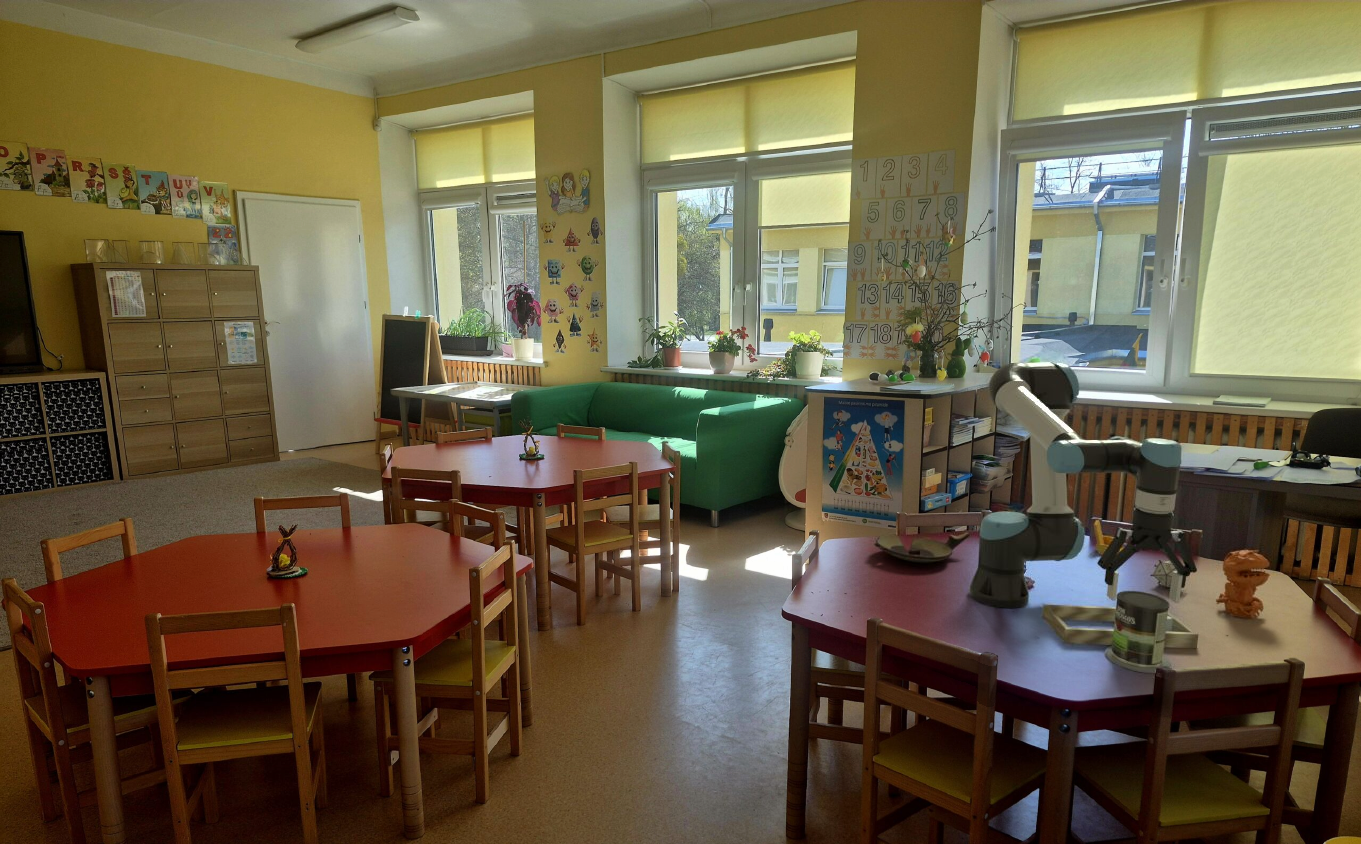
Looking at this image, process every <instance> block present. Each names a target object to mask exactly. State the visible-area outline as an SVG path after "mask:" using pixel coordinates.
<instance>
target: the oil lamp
mask: <svg viewBox="0 0 1361 844" xmlns="http://www.w3.org/2000/svg"><path fill="white" fill-rule="evenodd" d="M970 535H971V534H970V532H963V533H962V534H960V535H953V534H949V535H948V539H947V541H946V542H943V541H939V540H937V539H934V538H932V537H927V536H923V535H921V536H919V537H913V539H912V541H911V542H912V543H911V545H910V548H909V551H908V550H907V548H906V547H905V546H904V544H903V543H902V541H901V539H900V538H899V536H898V534H896V533H893V534H892V533H888V534H882V535H880V536H878V537H877V538H876V542H875V543H874V546H875V547H877V548H879V550H881V551H883V552H885V553H888V554H889V555H891V556H893V557H895V558H897V559H900V560H904V561H906V562H912V563H919V564H926V563H927V564H928V563H934V562H939V561H942V560H945V559H948V558H950V557H951V556H952V554H953V551H954V549H955V548H956V547H958V546H959V545H961V544H962V543H963V542H964V541H966V540H967V539H968V538H969V537H970ZM913 554H919V555H913Z"/></svg>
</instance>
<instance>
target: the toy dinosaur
mask: <svg viewBox="0 0 1361 844" xmlns="http://www.w3.org/2000/svg"><path fill="white" fill-rule="evenodd" d="M1259 551H1260V550H1258V549H1255V550H1249V549H1242V550H1236V551H1230V552H1228V553H1227V554H1226V556H1224V559H1223V562H1222V563H1223V564H1222V571H1223V572H1224V574H1223V575H1224V576H1225V577H1226V580H1227V581H1228V582H1226V583H1225V585H1224V592H1223V593H1220V594H1219V596H1218V599H1215V602H1216V605H1218V604H1222V603H1224V609H1225V612H1226V613H1227V614H1229V615H1230V616H1234V617H1238V618H1243V619H1245V618H1246V619H1247V618H1249V619H1250V618H1252V619H1253V618H1254V617H1255V615H1257V616H1258V617H1260V615H1261V613H1260V612H1262V613H1263V611H1264V605H1263V604H1264V603H1263V601H1262V600H1261V599H1260V598H1258V597H1256V596H1254V595H1255V594H1256V591H1257V588H1258V587H1260V586H1262V585H1264V584H1265V583H1267V581H1268V579H1269V577H1270V575H1271V574H1270V573H1268V572H1266V571H1265V568H1269V567H1270V561H1269V560H1268V559H1267V558H1266V557H1264V555H1262V554H1259V553H1258V552H1259ZM1263 570H1264V571H1263ZM1259 611H1260V612H1259Z"/></svg>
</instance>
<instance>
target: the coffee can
mask: <svg viewBox="0 0 1361 844" xmlns="http://www.w3.org/2000/svg"><path fill="white" fill-rule="evenodd" d="M1115 607H1116V614H1115V622H1114V625H1113V626H1114V627H1113V629H1114V634H1113V643H1112V645H1111V646H1112V650H1111V654H1112V655H1113V656H1114V657H1115V658H1116V659H1118V660H1119V661H1121V662H1124V663H1126V664H1129V665H1133V666H1137V667H1143V668H1155V667H1159V666H1161V665H1162V663H1163V661H1162V659H1163V656H1164V648H1165V647H1164V641H1165V633H1166V625H1167V616H1168V612H1169V609H1170V602H1169V601H1167V599H1165V598H1163V597H1161V596H1159V595H1156V594H1153V593H1148V592H1144V591H1139V590H1138V591H1137V590H1123V591H1119V592H1117V593H1116V606H1115Z"/></svg>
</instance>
